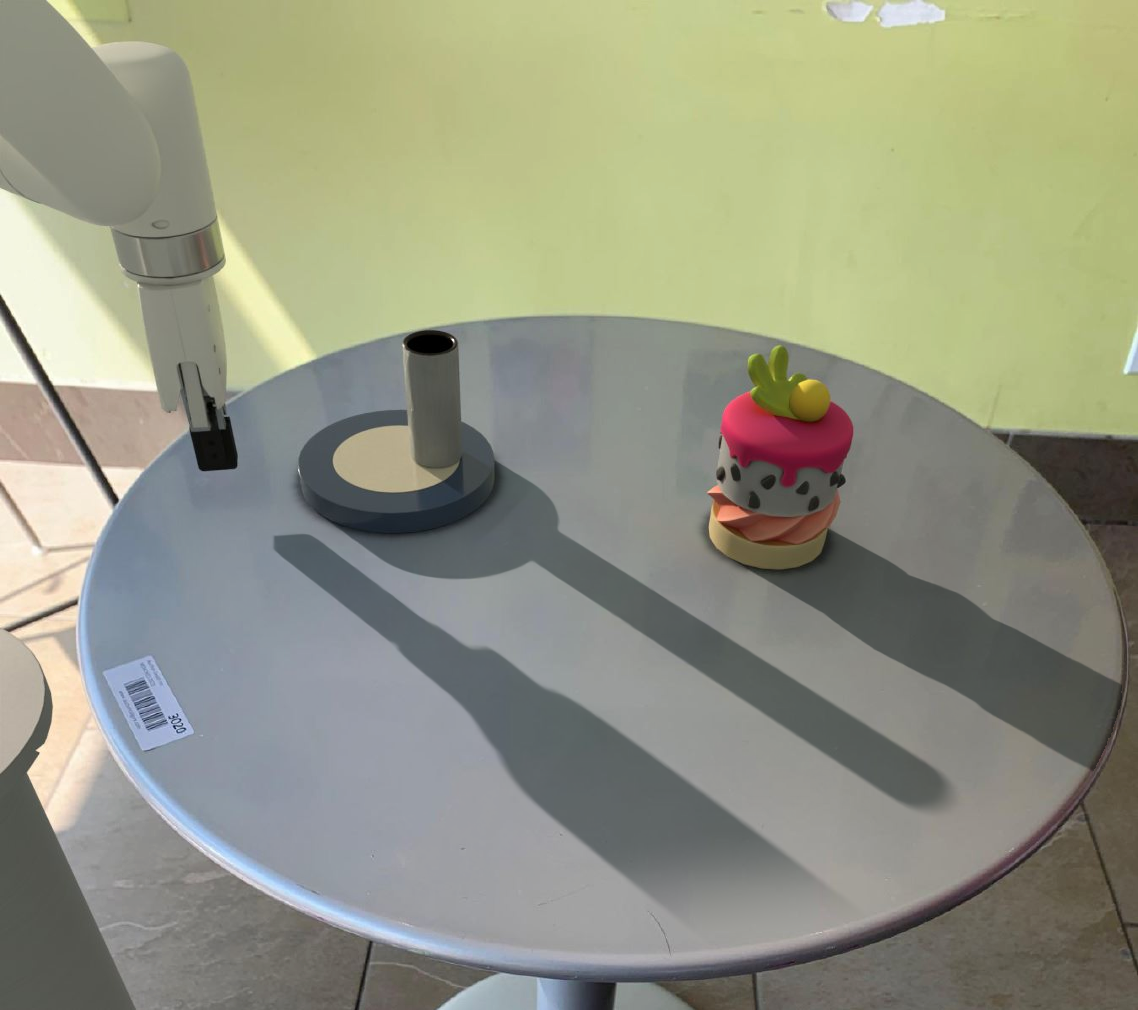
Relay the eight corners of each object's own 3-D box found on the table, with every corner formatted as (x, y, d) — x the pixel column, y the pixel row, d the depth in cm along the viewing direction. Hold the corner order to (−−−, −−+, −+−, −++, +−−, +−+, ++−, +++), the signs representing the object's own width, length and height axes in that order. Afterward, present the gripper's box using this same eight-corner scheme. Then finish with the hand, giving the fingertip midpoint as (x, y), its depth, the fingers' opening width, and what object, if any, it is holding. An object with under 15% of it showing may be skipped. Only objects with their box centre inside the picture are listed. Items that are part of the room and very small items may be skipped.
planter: (472, 450, 98) (468, 337, 91) (445, 474, 95) (439, 359, 88) (428, 436, 99) (421, 324, 92) (400, 459, 97) (391, 346, 89)
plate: (303, 541, 91) (299, 520, 90) (298, 435, 103) (295, 415, 101) (507, 525, 94) (507, 504, 92) (480, 423, 105) (480, 403, 104)
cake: (845, 523, 96) (887, 357, 85) (802, 587, 89) (841, 416, 78) (733, 488, 99) (760, 324, 88) (684, 546, 93) (706, 377, 82)
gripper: (124, 207, 86) (177, 423, 99) (106, 291, 75) (168, 519, 89) (224, 203, 87) (263, 417, 100) (220, 285, 77) (264, 511, 90)
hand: (219, 464), depth 94 cm, fingers closed
